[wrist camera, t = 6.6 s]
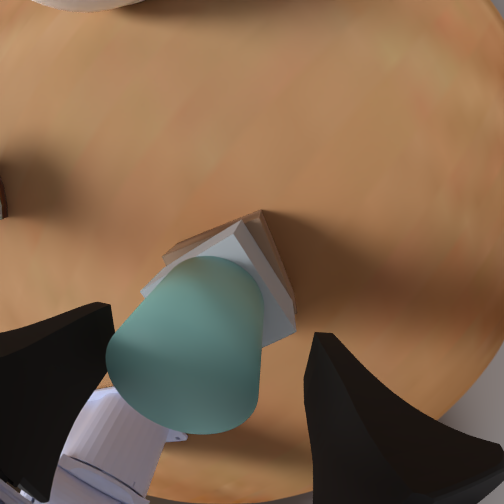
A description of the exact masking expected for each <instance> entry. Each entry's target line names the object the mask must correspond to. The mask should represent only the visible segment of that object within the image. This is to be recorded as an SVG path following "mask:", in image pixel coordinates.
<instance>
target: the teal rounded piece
mask: <svg viewBox="0 0 504 504" xmlns="http://www.w3.org/2000/svg"><path fill="white" fill-rule="evenodd" d="M263 319H264V300H263V296H262V293H261V291H260V288H259V286H258V285H257V283H256V281H255V280H254V279H253V278H252V276H251V275H250V274H249V273H248V272H247V271H246V270H244V269H243V268H242V267H240V266H239V265H237V264H235V263H234V262H231V261H229V260H227V259H224V258H220V257H215V256H197V257H193V258H189V259H187V260H184V261H183V262H181V263H179V264H178V265H176V266H175V267H174V268H173V269H172V270H171V271H170V272H169V273H168V274H167V275H166V276H165V277H164V278H163V280H162V281H161V282H160V283H159V284H158V285H157V286H156V287H155V288H154V289H153V291H152V292H151V293H150V294H149V295H148V296H147V297H146V298H145V299H144V301H143V302H142V303H141V304H140V305H139V306H138V307H137V308H136V310H135V311H134V312H133V313H132V314H131V315H130V316H129V318H128V319H127V320H126V321H125V322H124V323H123V324H122V326H121V327H120V328H119V329H118V330H117V331H116V333H115V334H114V335H113V336H112V338H111V339H110V341H109V343H108V346H107V349H106V367H107V371H108V374H109V377H110V379H111V381H112V383H113V385H114V387H115V388H116V390H117V391H118V393H119V394H120V395H121V397H122V398H123V399H124V400H125V401H126V402H127V403H128V404H129V405H130V406H131V407H132V408H133V409H134V410H136V411H137V412H138V413H140V414H141V415H143V416H144V417H146V418H147V419H149V420H151V421H153V422H155V423H156V424H159V425H161V426H163V427H166V428H169V429H172V430H175V431H179V432H183V433H189V434H216V433H221V432H225V431H228V430H231V429H233V428H235V427H237V426H239V425H241V424H242V423H244V422H245V421H246V420H247V419H248V418H249V417H250V416H251V414H252V413H253V412H254V410H255V408H256V405H257V402H258V394H259V380H260V366H261V351H262V335H263Z"/></svg>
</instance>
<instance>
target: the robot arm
mask: <svg viewBox="0 0 504 504" xmlns="http://www.w3.org/2000/svg"><path fill="white" fill-rule="evenodd" d="M114 334H115V330H114V324H113V317H112V311H111V305H110V304H106V303H101V302H94V303H90V304H87V305H84V306H81V307H78V308H76V309H73V310H70V311H68V312H65V313H62V314H60V315H57V316H54V317H52V318H49V319H46V320H43V321H40V322H37V323H35V324H32V325H29V326H26V327H22V328H19V329H15V330H11V331H7V332H2V333H0V504H149V502H150V501H149V500H147V499H145V497H146V494H147V491H148V489H149V486H150V483H151V480H152V477H153V475H154V472H155V469H156V466H157V464H158V461H159V458H160V455H161V453H162V450H163V447H164V444H165V442H174V441H185V440H187V438H188V436H187V434H186V433H183V432H179V431H175V430H172V429H169V428H166V427H163V426H161V425H159V424H156V423H155V422H153V421H151V420H149V419H147V418H146V417H144V416H143V415H141V414H140V413H138V412H137V411H136V410H134V409H133V408H132V407H131V406H130V405H129V404H128V403H127V402H126V401H125V400H124V399H123V398H122V397H121V395H120V394H119V393H118V391H117V390H116V388H115V387H108V388H103V389H97V390H95V389H96V388H97V386H98V385H99V383H100V382H101V380H102V379H103V377H104V376H105V374H106V373H107V367H106V349H107V346H108V343H109V341H110V339H111V338H112V336H113V335H114ZM304 405H305V411H306V418H307V425H308V431H309V438H310V444H311V451H312V460H313V504H477V503H478V502H480V501H481V500H482V499H483V498H485V496H487V495H488V494H489V493H491V492H492V491H493V490H494V489H495V488H496V487H497V486H498V485H500V484H501V483H502V482H503V481H504V451H503V449H502V447H501V446H500V444H497V443H494V442H490V441H486V440H483V439H480V438H476V437H473V436H470V435H467V434H465V433H462V432H460V431H458V430H455V429H453V428H450V427H448V426H446V425H444V424H442V423H440V422H438V421H436V420H434V419H433V418H431V417H429V416H427V415H426V414H424V413H422V412H420V411H419V410H417V409H416V408H414V407H413V406H411V405H410V404H408V403H407V402H405V401H404V400H403V399H401V398H400V397H399V396H397V395H396V394H395V393H393V392H392V391H391V390H390V389H388V388H387V387H386V386H385V385H384V384H383V383H381V382H380V381H379V380H378V379H377V378H376V377H375V376H374V375H373V374H371V373H370V372H369V371H368V370H367V369H366V368H365V367H364V366H363V365H362V364H361V363H360V362H359V361H358V360H357V359H356V358H355V357H354V355H353V354H352V353H351V352H350V351H349V350H348V349H347V348H346V347H345V346H344V345H343V344H342V343H341V341H340V340H339V339H338V338H337V337H336V336H335V335H334V334H333V333H321V332H315V333H314V337H313V342H312V346H311V350H310V354H309V358H308V363H307V367H306V370H305V374H304ZM7 481H8V482H9V483H10V484H12V485H13V486H14V487H19V488H20V489H21V493H20V494H19V493H18V492H17V491H15V490H14V489H13V488H11V487H10V486H9V485H8V484H6V482H7Z"/></svg>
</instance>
